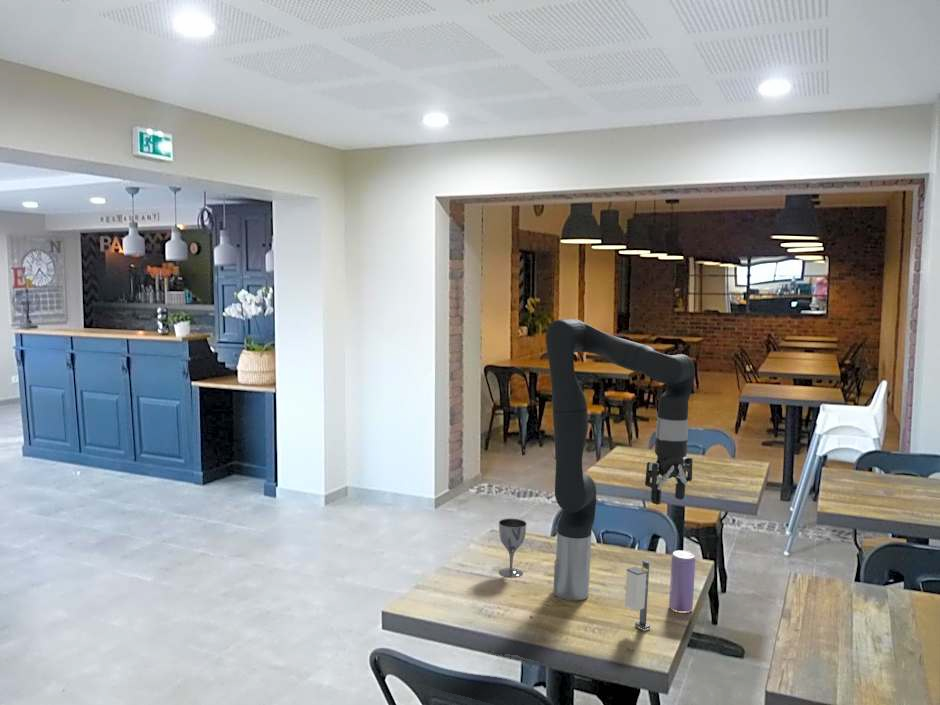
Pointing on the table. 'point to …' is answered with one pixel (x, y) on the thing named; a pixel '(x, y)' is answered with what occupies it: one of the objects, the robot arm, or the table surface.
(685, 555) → the beverage can
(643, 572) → the fader knob
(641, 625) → the rail
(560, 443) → the robot arm
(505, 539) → the wine glass
